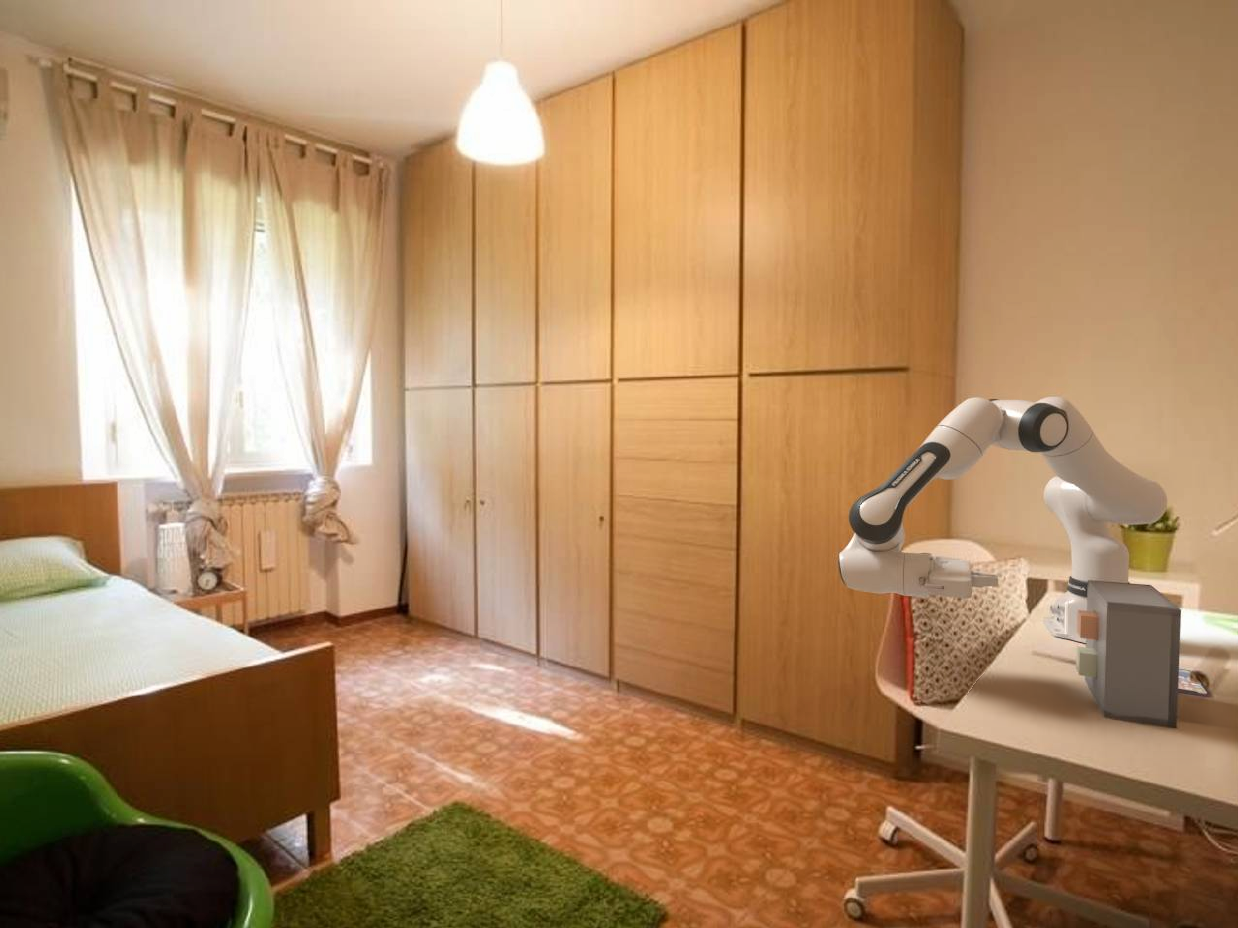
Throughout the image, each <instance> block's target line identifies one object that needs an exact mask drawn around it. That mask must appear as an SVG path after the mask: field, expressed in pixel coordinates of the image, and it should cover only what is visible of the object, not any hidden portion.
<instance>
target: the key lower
mask: <svg viewBox="0 0 1238 928" xmlns="http://www.w3.org/2000/svg"><path fill="white" fill-rule="evenodd" d="M1075 652H1076V653H1075V654H1076V656H1075V669H1076V672H1077V673H1078V674H1077V675H1079V676H1082V677H1085V676H1089V677H1097V652H1096V651H1095V649H1094V648H1086V646H1076V650H1075Z"/></svg>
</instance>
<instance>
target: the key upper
mask: <svg viewBox="0 0 1238 928" xmlns="http://www.w3.org/2000/svg"><path fill="white" fill-rule="evenodd" d="M1098 618H1099V616H1098V614H1097V613H1096V612H1094V611H1083V610H1078V611H1077V633H1078V635H1079V636H1080V638H1086V639H1095V640H1098Z"/></svg>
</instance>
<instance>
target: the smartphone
mask: <svg viewBox="0 0 1238 928" xmlns="http://www.w3.org/2000/svg"><path fill="white" fill-rule="evenodd" d="M1191 671H1192V670H1190V669H1184V668H1179V682H1178V694H1183V695H1190V696H1197V697H1203V698H1209V697H1210V696H1211V693H1210V692H1209V691H1208V689H1207V688H1206V687H1205V686H1204V684H1203V683H1202V684H1195V683H1191V682H1189V681H1188V680H1187V678H1189V673H1190V672H1191Z"/></svg>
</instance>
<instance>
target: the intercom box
mask: <svg viewBox="0 0 1238 928" xmlns="http://www.w3.org/2000/svg"><path fill="white" fill-rule="evenodd" d="M1087 611H1094V612H1096V613H1097V614H1098V616H1099V618H1098V640H1095V639H1086V643H1085V647H1086V648H1094V649H1095V651H1096V652H1097V677H1089V676H1084V680H1085V682H1086V685H1087V687H1088V689H1089V691H1090V692H1091V694H1092V697H1093V698H1094V699H1093V700H1095V702H1096V704H1097V706H1098V709H1099V711H1100V712H1101V713H1100V714H1101V715H1102V718H1106V719H1113V720H1119V721H1124V722H1133V723H1136V724H1137V723H1138V724H1144V725H1149V726H1157V727H1163V728H1164V727H1166V728H1171V729H1178V711H1179V710H1178V707H1179V702H1178V701H1179V693H1178V682H1179V669H1180V653H1181V650H1180V649H1181V625H1182V623H1181V622H1182V621H1181V619H1182V609H1181V608H1180V607H1178V606H1177V605H1176V604H1175V603H1173V602H1172V601H1171V600H1170V599H1169V598H1167V597H1166V596H1165V595H1164V594H1162V593H1161V592H1160V591H1159V590H1158V589H1156V588H1155V587H1154V586H1153V585H1151V584H1143V583H1141V584H1140V583H1131V582H1130V583H1119V582H1106V581H1094V580H1088V592H1087Z"/></svg>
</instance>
